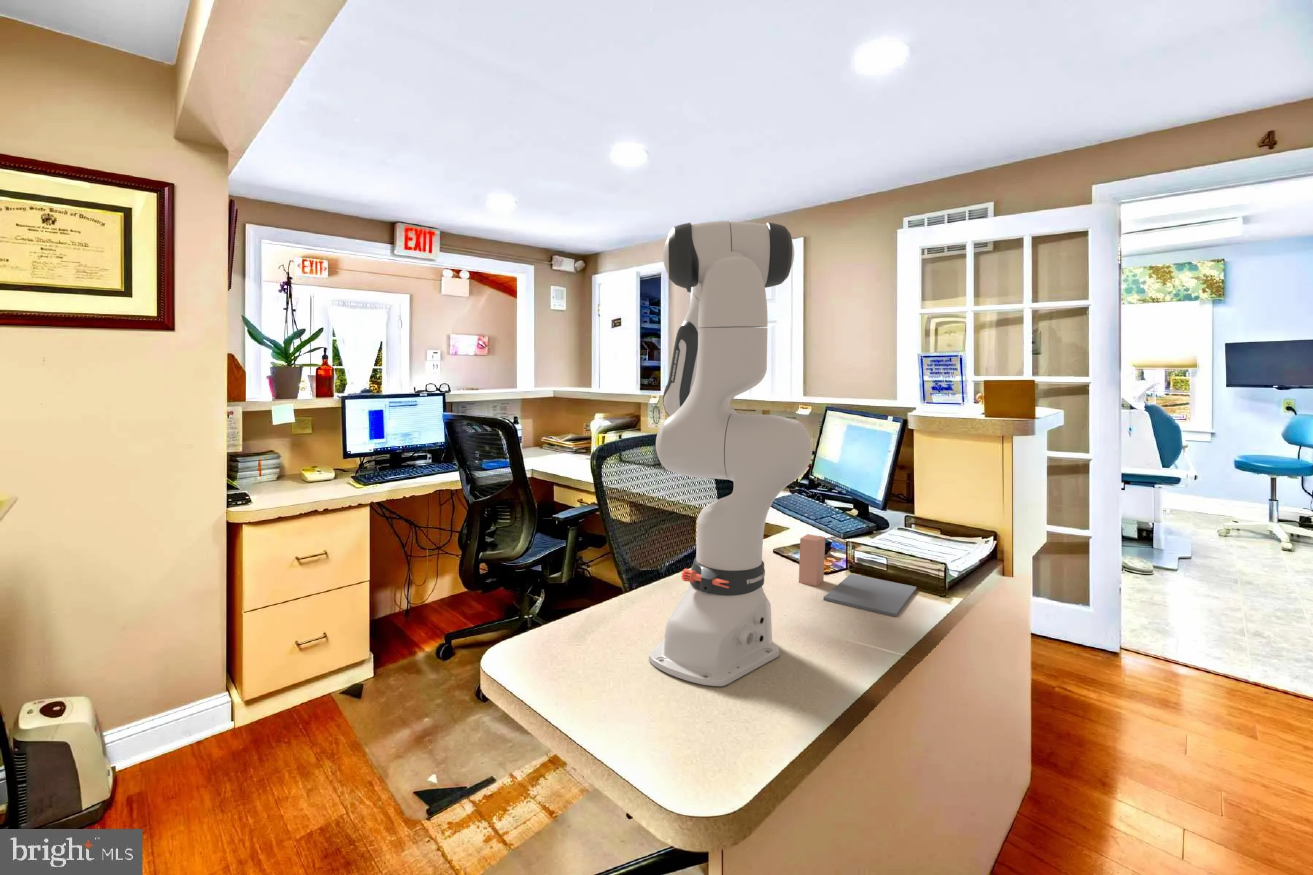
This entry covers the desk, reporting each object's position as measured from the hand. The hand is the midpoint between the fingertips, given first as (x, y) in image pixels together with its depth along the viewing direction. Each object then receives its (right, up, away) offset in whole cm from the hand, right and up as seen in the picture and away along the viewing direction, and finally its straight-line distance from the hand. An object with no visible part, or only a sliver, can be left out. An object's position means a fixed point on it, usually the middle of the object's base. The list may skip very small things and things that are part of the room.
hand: (763, 474), depth 132 cm
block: (+10, -24, -5) cm, 26 cm away
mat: (+20, -24, -13) cm, 34 cm away
